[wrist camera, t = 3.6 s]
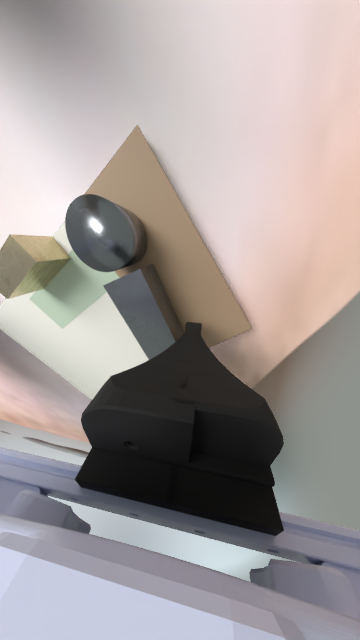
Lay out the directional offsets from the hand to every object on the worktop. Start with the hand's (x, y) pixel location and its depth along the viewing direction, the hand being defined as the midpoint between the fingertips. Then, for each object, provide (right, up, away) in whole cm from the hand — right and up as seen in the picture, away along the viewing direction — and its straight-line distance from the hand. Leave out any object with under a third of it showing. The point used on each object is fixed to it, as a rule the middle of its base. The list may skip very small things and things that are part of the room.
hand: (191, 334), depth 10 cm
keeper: (-11, +5, +1) cm, 12 cm away
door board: (-7, +1, +3) cm, 8 cm away
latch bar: (-3, +3, +1) cm, 4 cm away
